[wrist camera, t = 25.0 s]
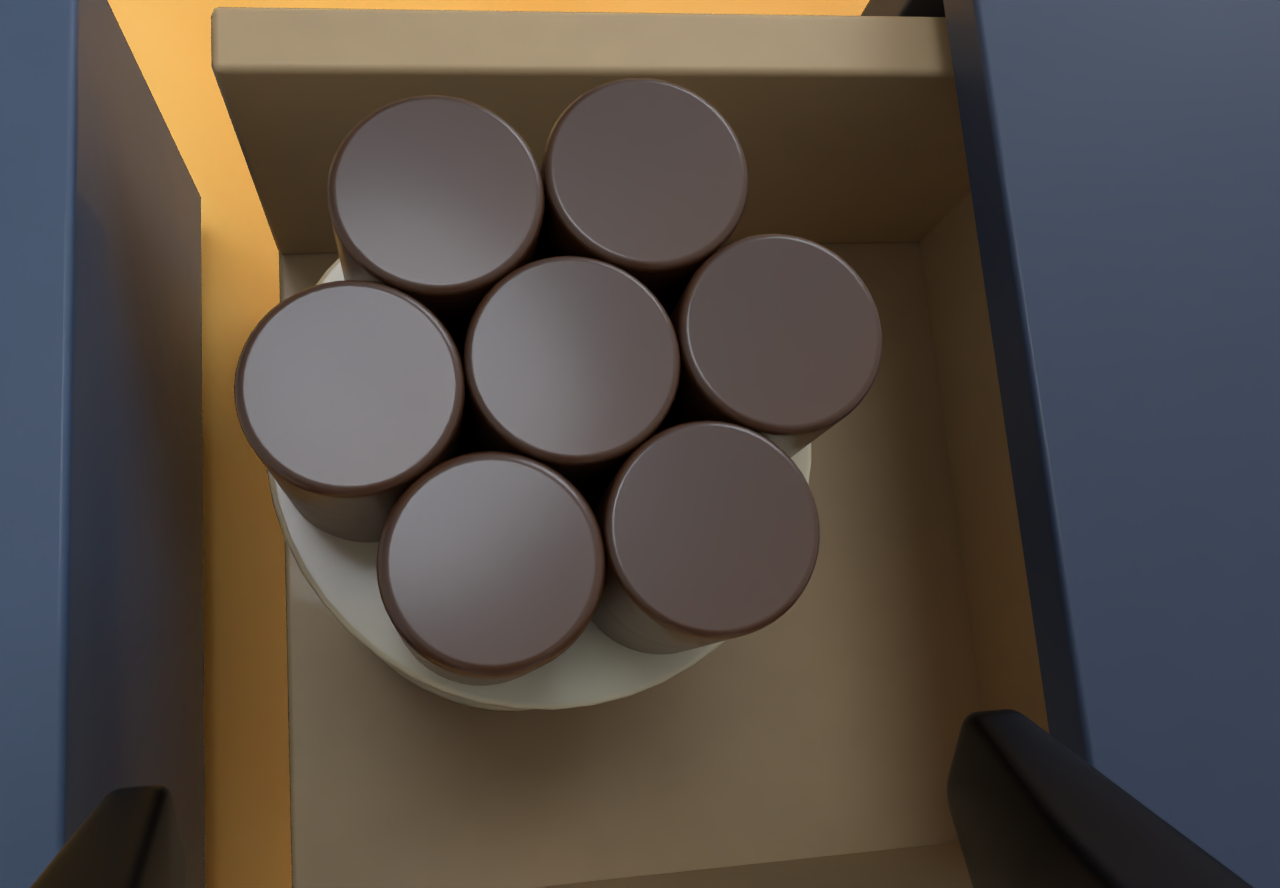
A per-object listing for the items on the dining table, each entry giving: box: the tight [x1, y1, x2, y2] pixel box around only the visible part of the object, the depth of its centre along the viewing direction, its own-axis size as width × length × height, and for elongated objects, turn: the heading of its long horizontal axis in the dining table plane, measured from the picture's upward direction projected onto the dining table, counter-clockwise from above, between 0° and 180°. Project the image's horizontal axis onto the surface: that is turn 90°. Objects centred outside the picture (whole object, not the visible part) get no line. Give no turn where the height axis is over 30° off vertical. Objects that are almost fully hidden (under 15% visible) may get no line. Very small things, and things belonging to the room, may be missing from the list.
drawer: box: [0, 0, 1049, 888], centre depth 15 cm, size 18×12×7 cm
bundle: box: [234, 78, 882, 711], centre depth 13 cm, size 5×5×10 cm
